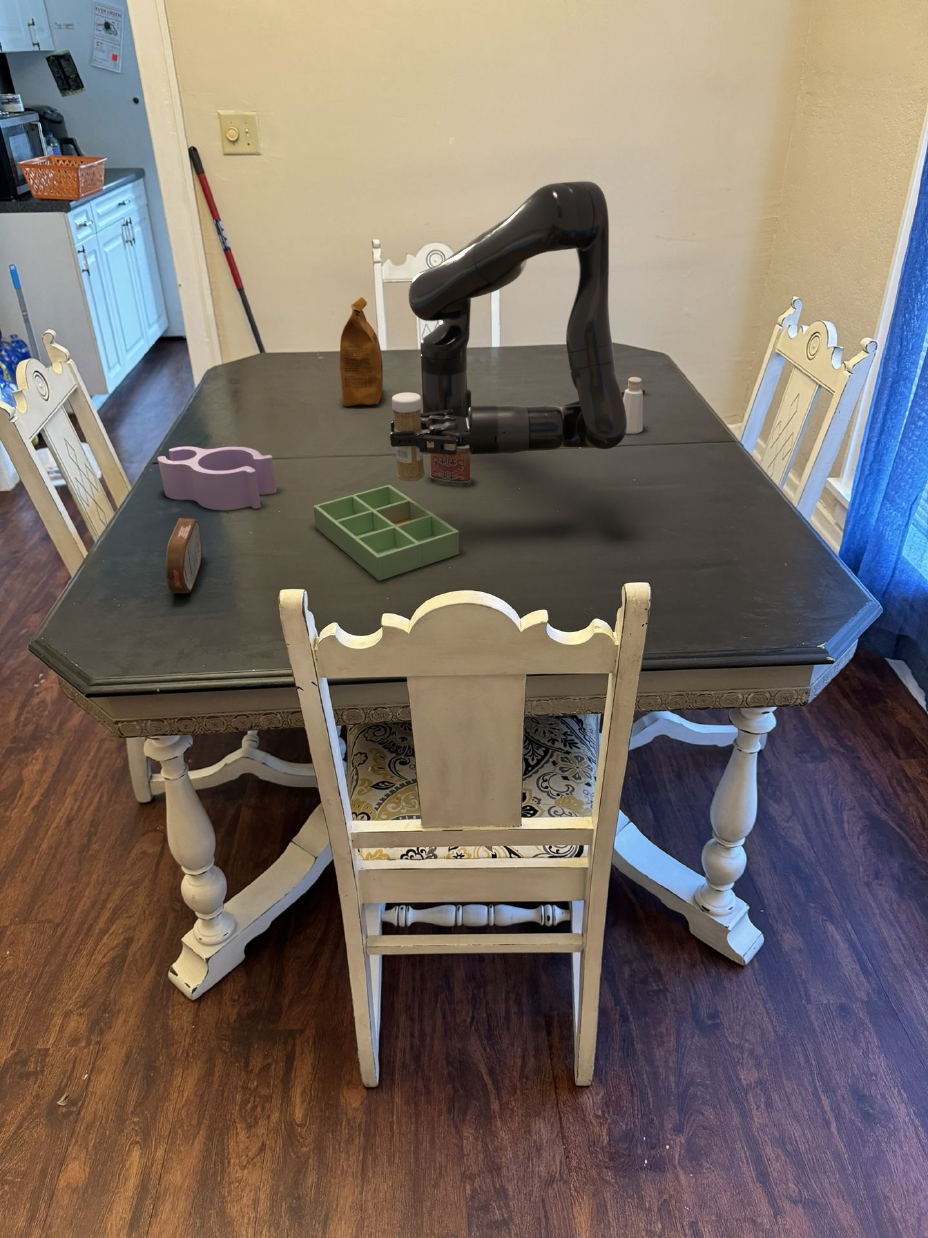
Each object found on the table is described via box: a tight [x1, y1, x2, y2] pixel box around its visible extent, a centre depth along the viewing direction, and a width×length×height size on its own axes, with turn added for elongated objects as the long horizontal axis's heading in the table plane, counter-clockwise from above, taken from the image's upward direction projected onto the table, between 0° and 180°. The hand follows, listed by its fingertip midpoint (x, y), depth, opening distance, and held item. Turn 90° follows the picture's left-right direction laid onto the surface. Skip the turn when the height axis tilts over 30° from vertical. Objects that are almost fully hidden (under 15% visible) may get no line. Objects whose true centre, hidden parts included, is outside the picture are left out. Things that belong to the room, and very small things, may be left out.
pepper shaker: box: [622, 376, 644, 435], centre depth 182 cm, size 5×5×11 cm
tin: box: [165, 517, 203, 595], centre depth 132 cm, size 15×3×8 cm, turn 5°
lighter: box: [429, 445, 472, 487], centre depth 161 cm, size 8×3×10 cm, turn 71°
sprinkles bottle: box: [391, 391, 426, 482], centre depth 138 cm, size 5×5×13 cm
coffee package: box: [339, 297, 384, 407], centre depth 197 cm, size 10×12×22 cm
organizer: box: [312, 484, 460, 581], centre depth 143 cm, size 15×22×4 cm
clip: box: [156, 445, 278, 511], centre depth 158 cm, size 20×12×7 cm, turn 75°
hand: (391, 433), depth 137 cm, fingers closed on sprinkles bottle, 4 cm apart
